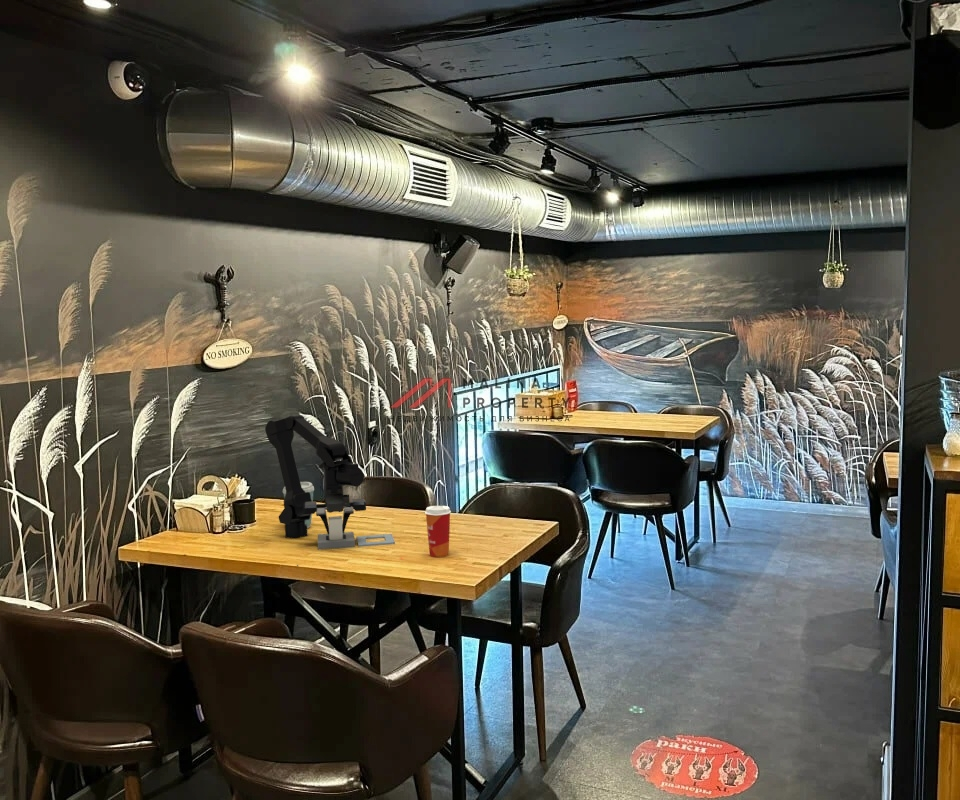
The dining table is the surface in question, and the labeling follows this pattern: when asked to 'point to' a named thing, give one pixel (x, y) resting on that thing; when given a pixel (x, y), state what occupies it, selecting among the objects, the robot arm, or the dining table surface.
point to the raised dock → (336, 541)
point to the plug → (335, 528)
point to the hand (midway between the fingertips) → (335, 533)
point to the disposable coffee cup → (307, 488)
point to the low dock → (388, 538)
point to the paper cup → (438, 530)
